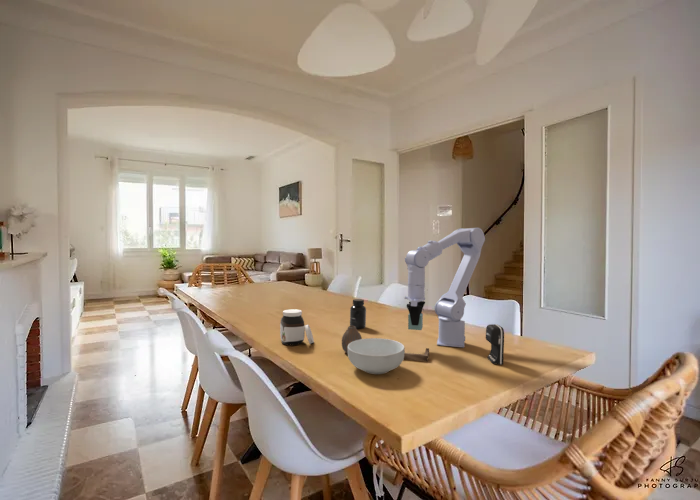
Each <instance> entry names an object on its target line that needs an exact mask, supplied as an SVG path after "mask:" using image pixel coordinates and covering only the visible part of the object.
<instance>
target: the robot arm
mask: <svg viewBox="0 0 700 500" xmlns="http://www.w3.org/2000/svg"><path fill="white" fill-rule="evenodd" d="M485 242H486V238H485V233H484V231H483V229H482V228H480V227H469V228H462V227H461V228H460V227H459V228H457V229H455V230H453V231H452V232H451V233H449V234H447V235H446V236H445V237H443V238H441V239H440V240H438V241H437V240H430V239H429V240H428V241H427V242H426V244H424V245H421V246H418V247H417V249H413V250H412V249H411V250H409V251H408V252H407V253H406V256H405V257H404V262H405V264H406V266H407V270H408V271H407V273H408V274H407V295H405V296H404V297H403V298H404V300H408V301H409V302H408V303H406V308H407V310H408V314H409V313H410V318H411V323H412V325H418V324H419V319H420V314H421V313H422V312H423V309H424V306H425V304H426V297H425V295H426V294H425V289H426V288H425V287H426V283H425V282H426V267H427V266H428V264H429V262H430V261H432V260H433V259H435V258H437V257H439V256H441V255H442V254H443V250H446V249H447V248H449V247H451V246H453V245H456V244H457V246H458V248H459V249H460V251H461V252H462V253H463V257H462V258H461V262H460V264H459V266H458V269H457V270H456V272H455V275H454V277H453V280H451V281H452V282H451V284H450V287H449V289H448V291H447V292H445V293H443V294H442V295H441V296H440V298H439V300H437V301H436V303H435V304H434V312H435V314H436V315H437V318H438V338H437V340H436V345H437V346H444V347H453V348H454V347H455V348H465V342H466V336H465V335H466V333H465V332H466V331H465V330H466V327H465V326H466V325H465V324H466V323H465V322H466V321H465V320H462V318H463V317H464V314H465V308H466V301H465V300H464V298H463V297H464V294H465V292H466V290H467V287H468V285H469V282H470V281H471V279H472V276H473V274H474V271H475V269H476V266H477V265H478V263H479V260H480V257H481V253H482V248H483V245H484V243H485Z"/></svg>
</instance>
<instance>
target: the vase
mask: <svg viewBox="0 0 700 500" xmlns="http://www.w3.org/2000/svg"><path fill="white" fill-rule="evenodd" d="M360 339H363V337H362V335H361V333H360V332H359V329H356V327H355V326H350V325H349V326H348V327H347V329H346V331H345V332H344V333H343V334H342V337H341V347H342V350H343V352H345V354H347V355H348V351H347V350H348V348H347V347H348V344H349V343H351V342H353V341H356V340H360Z"/></svg>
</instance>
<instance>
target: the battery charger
mask: <svg viewBox="0 0 700 500" xmlns="http://www.w3.org/2000/svg"><path fill="white" fill-rule="evenodd" d="M485 340H486V341H487V342H488V343H490V352H489V354H488V356H487V359H488V360H489V361H490V362H491V364H493V365H504V359H505V358H504V355H505V353H504V351H505V329H504V328H503V327H502V326H501V325H499V324H496V323H495V324H493V323H491V324H487V325H486V329H485Z"/></svg>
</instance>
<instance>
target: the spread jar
mask: <svg viewBox="0 0 700 500" xmlns="http://www.w3.org/2000/svg"><path fill="white" fill-rule="evenodd" d="M302 314H303V311H302V310H301V309H296V308H294V309H293V308H292V309H284V310H283V311H282V317H281V318H280V323H279V327H280V328H279V329H280V331H279V334H280V336H279V337H280V341H281V343H282V344H283V345H285V346H298V345H301V344H302V343H304V341H305V334H306V338H307V341H308V343H309V344H314V343H315V340H314V335H313V332H312V329H311V327H310V325H309V324H305V320H304V318H303V316H302Z"/></svg>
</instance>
